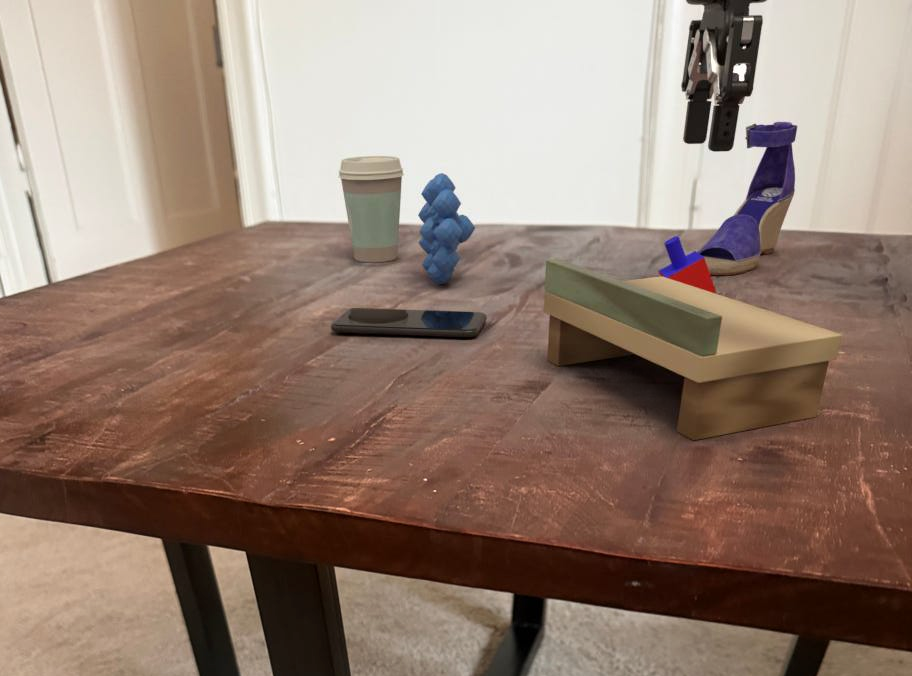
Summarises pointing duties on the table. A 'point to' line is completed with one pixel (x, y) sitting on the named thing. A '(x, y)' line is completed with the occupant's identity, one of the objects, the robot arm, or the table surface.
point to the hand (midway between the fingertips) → (706, 147)
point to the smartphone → (410, 322)
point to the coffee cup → (373, 205)
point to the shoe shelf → (692, 346)
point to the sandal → (757, 204)
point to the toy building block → (687, 267)
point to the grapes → (442, 228)
